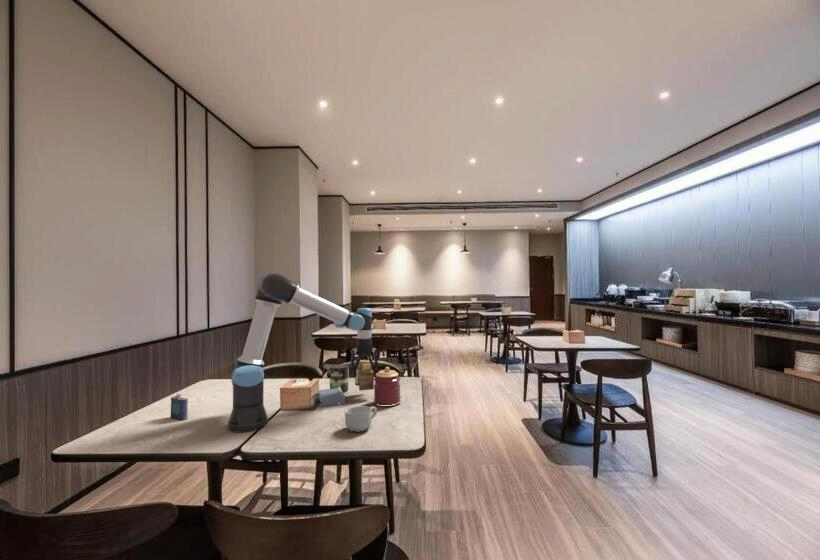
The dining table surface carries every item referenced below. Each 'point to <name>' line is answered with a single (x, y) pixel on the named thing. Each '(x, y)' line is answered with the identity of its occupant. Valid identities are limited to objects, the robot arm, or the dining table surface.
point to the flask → (179, 407)
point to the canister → (387, 387)
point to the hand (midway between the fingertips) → (364, 382)
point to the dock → (331, 396)
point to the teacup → (359, 417)
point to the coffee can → (339, 377)
